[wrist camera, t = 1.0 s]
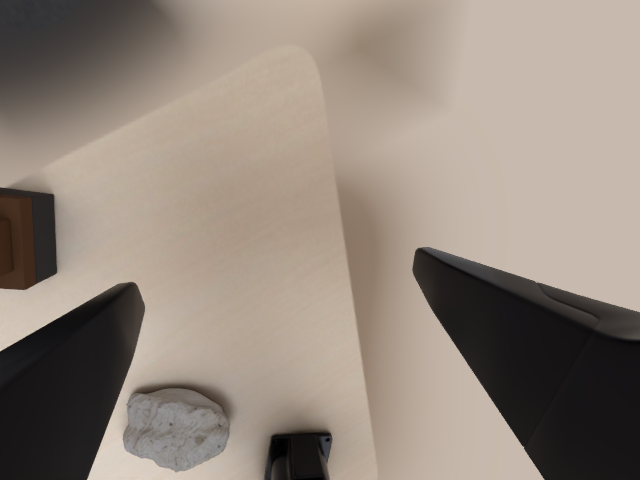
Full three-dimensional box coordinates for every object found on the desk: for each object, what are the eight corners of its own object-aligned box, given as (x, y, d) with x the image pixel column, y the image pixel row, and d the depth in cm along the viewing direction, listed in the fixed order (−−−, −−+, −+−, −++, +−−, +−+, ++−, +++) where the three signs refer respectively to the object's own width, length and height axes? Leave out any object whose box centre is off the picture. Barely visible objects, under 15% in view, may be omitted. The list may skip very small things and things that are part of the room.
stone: (76, 425, 22) (196, 407, 21) (120, 380, 26) (220, 363, 25) (127, 512, 24) (235, 500, 23) (159, 457, 29) (251, 445, 28)
